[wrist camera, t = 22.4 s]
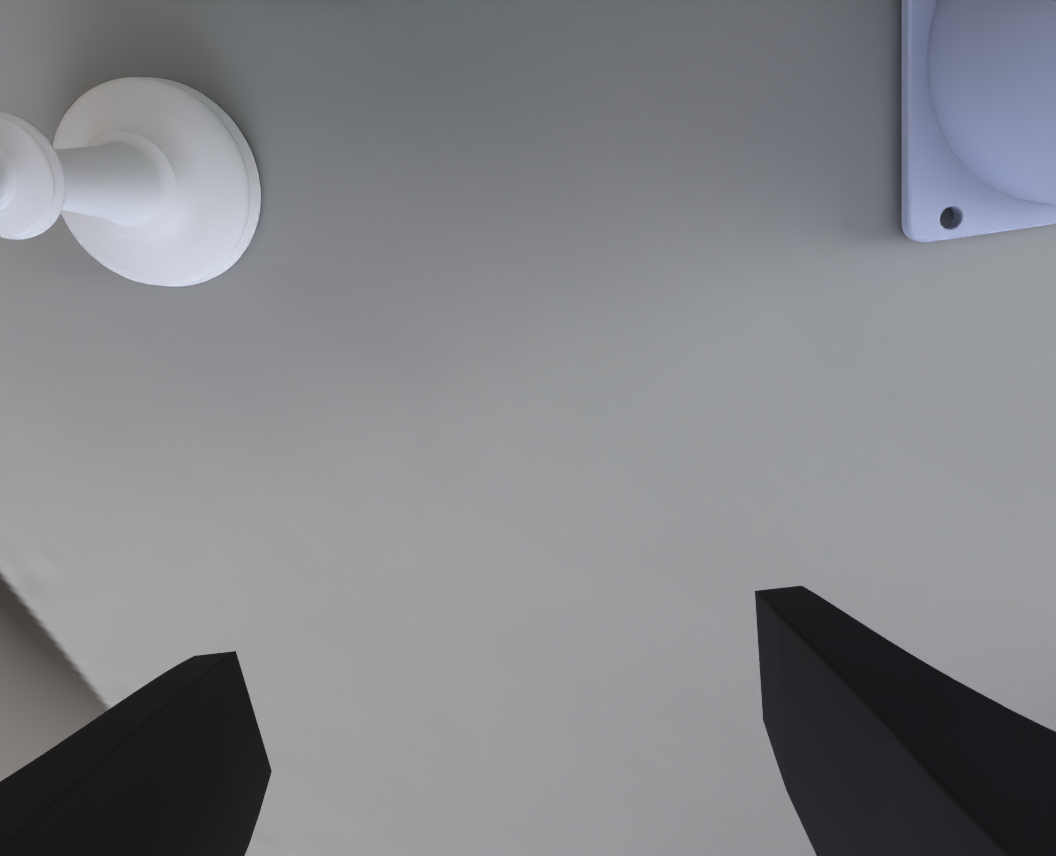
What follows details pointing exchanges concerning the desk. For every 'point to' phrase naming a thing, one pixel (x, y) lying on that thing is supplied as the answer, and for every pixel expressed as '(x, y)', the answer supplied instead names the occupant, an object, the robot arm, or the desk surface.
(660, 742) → the desk surface
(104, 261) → the chess piece
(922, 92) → the robot arm
